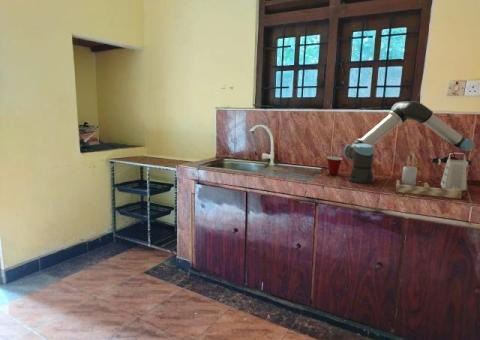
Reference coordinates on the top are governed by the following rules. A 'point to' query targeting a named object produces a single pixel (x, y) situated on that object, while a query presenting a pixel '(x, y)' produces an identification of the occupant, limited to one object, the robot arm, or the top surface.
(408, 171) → the utensil crock
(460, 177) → the grater
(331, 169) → the plastic cup
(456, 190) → the rack
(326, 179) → the top surface
